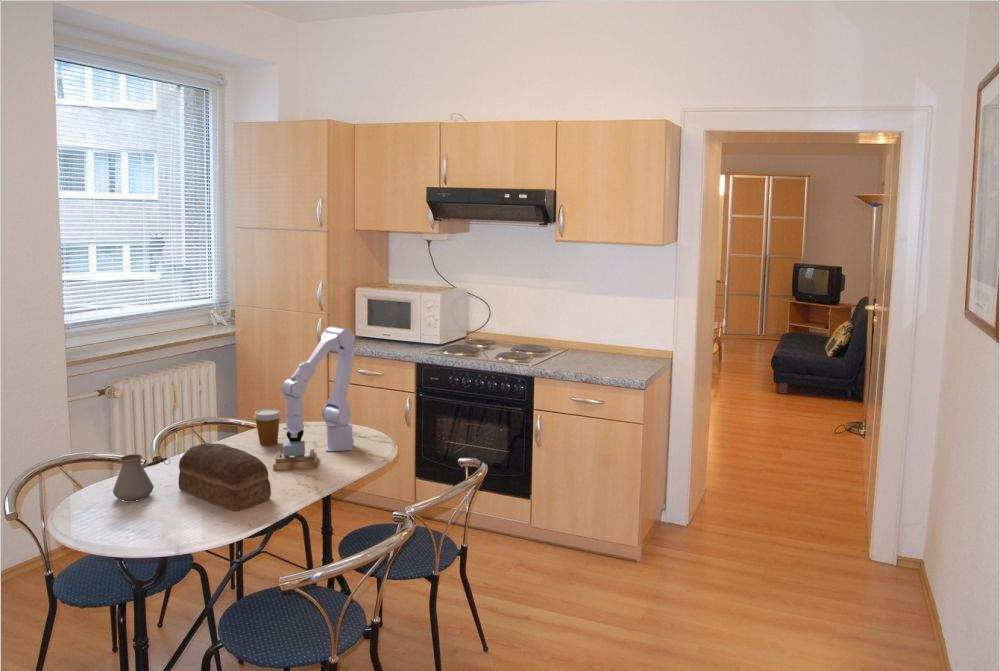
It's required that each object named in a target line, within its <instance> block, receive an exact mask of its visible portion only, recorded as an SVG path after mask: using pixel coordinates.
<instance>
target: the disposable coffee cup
mask: <svg viewBox="0 0 1000 671" xmlns="http://www.w3.org/2000/svg"><path fill="white" fill-rule="evenodd" d="M281 415H282V414H281V412H280V409H275V408H264V409H259V410H256V411H255V412H254V415H253V418H254V420H255V423H256V424H255V425H256V430H257V434H258V435H257V436H258V441H259V445H260V446H264V447H267V446H274V445H277V444H278V439H279V428H280V418H281Z"/></svg>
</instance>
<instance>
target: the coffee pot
mask: <svg viewBox="0 0 1000 671" xmlns="http://www.w3.org/2000/svg"><path fill="white" fill-rule="evenodd" d="M142 459H143V456H142V455H141V454H135V453H134V454H128V455H123V456H121V457H119V461H120V463H121V468H120V471H119V473H118V475H117V476H118V477H117V479H116V481H115V484H114V486H113V489H112V493H113V495H114V497H115V498H117V499H119V500H120V499H121V500H124V501H136V500H141V499H143V498H145V497H147V498H148V496H149V495H151V493H153V489H154V483H153V482H152V481H151V480H152V479H150V477H149V475H148V474H147V472H146V470H145V468H148V467H149V468H150V467H152V466H156V465H158V464H160V463H163V464H164V465H170V464H171V462H169V463H166V461H167V460H169V461H171V459H170V458H168V457H163V458H162V457H161V458H160V459H157V460H154V461H151V462H149V463H147V464H144V465H143V464H142V463H141V461H142ZM145 499H146V498H145ZM121 500H120V501H121ZM143 500H144V499H143ZM141 501H142V500H141ZM136 502H137V501H136Z"/></svg>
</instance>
